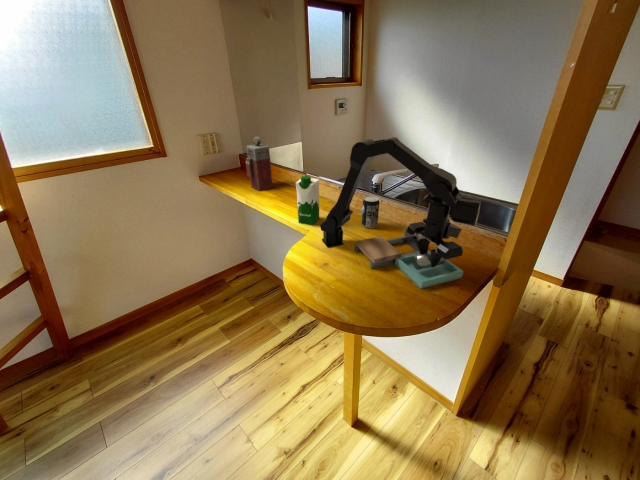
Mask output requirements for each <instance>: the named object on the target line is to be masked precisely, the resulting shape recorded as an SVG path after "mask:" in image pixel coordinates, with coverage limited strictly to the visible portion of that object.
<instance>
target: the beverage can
mask: <svg viewBox="0 0 640 480" xmlns="http://www.w3.org/2000/svg"><path fill="white" fill-rule="evenodd" d="M379 211H380V200H379V197H378V196H373V195H368V196H364V197H363V200H362V209H361V225H362V226H363V227H364V228H365V229H374V228H376V227H377V226H378V221H379Z"/></svg>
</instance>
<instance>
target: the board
mask: <svg viewBox="0 0 640 480" xmlns="http://www.w3.org/2000/svg"><path fill="white" fill-rule="evenodd" d="M386 240H387V239H385V238H384V237H383V236H375V237H369V238H364V239H360V240H355V246H358V247H359V248H360V250H361V251H362V253H363V255H365V256H366V257H367V259H368V260H369V261H370V262H371V261H372V262H373V263H377V262H382V261H386V260H391V259H395V258H399V257H401V255H402V252H400V251H399V250H398V249H397V248H395V247H394V245H391V244H390V243H388V242H387V241H386Z"/></svg>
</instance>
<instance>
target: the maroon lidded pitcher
mask: <svg viewBox="0 0 640 480" xmlns="http://www.w3.org/2000/svg"><path fill="white" fill-rule="evenodd" d="M252 139H253V144H250V145H249V144H248V145H247V146H246V155H247V157H245V168H246V175H247V177H249V178H250V185H251V188H252V189H253V190H255V191H257V192H264V191H267V190H270V189H271V190H272V189H273V186H274V185H273V176H272V166H271V156H270V155H271V154H270V153H271V152H270V146H269V145H266V144H262V142H261V141H262V140H261V137H260V136H253V138H252Z"/></svg>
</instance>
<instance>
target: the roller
mask: <svg viewBox="0 0 640 480" xmlns="http://www.w3.org/2000/svg"><path fill="white" fill-rule="evenodd" d="M445 261H446V259H444V258H441V259H440V261H439V262H438V264H437V265H442V264H444V263H445ZM412 262H413V265H414V267H415V269H417V270H421V269H425V268H429V267H432V265H431V252H430V253H425V254H421V255H416V256H414V257H413V260H412ZM437 265H436V266H437Z"/></svg>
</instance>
